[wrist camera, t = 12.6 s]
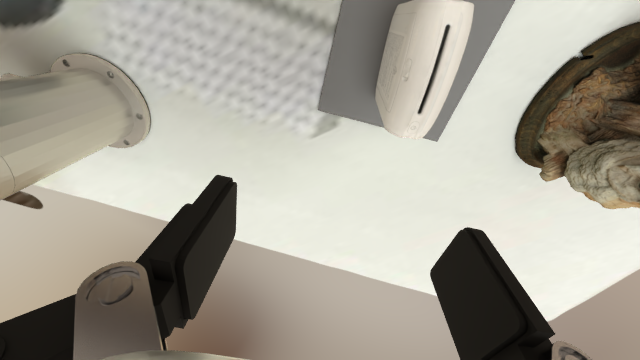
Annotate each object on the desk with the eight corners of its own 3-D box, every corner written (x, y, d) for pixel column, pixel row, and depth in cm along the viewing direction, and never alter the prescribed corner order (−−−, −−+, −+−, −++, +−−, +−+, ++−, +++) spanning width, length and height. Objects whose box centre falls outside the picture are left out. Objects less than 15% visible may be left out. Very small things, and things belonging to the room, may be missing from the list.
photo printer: (405, 107, 30) (435, 152, 19) (370, 102, 30) (382, 145, 19) (437, 4, 24) (504, -11, 14) (394, -2, 24) (428, -21, 14)
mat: (318, 108, 31) (317, 110, 31) (356, -58, 23) (356, -60, 22) (435, 139, 32) (437, 141, 31) (517, -11, 23) (521, -11, 23)
